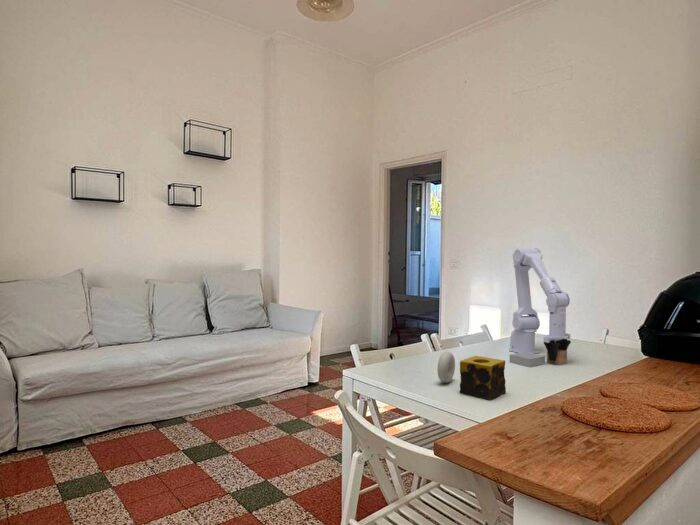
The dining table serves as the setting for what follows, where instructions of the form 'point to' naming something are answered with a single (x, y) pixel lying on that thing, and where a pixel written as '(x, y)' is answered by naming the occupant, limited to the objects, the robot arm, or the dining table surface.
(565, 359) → the block
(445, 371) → the donut
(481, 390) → the candle
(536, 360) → the base
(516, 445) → the dining table surface
